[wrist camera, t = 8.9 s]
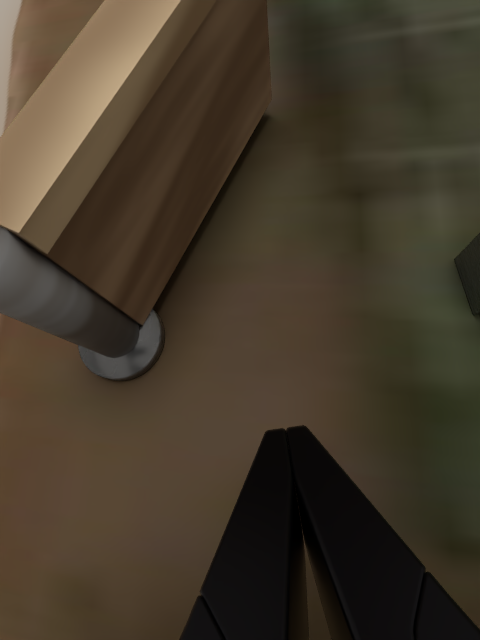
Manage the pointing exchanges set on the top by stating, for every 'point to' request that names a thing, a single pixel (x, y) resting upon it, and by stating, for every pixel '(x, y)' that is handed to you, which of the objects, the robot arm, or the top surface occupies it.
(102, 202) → the gate
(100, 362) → the gate frame
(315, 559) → the robot arm
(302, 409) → the top surface
